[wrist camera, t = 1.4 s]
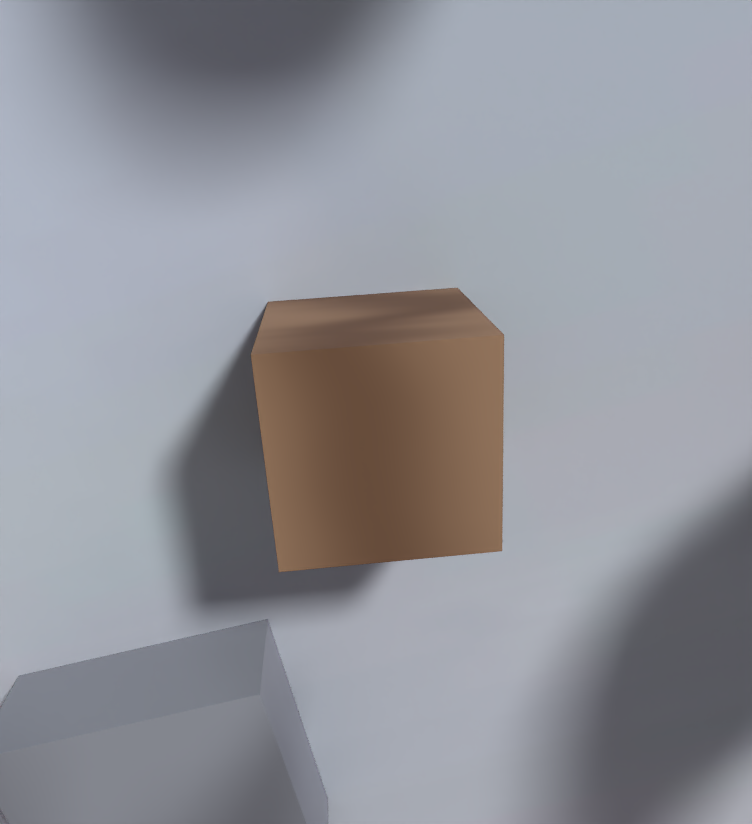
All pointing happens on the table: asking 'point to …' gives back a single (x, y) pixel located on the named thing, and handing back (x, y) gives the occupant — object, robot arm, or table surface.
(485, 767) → the table surface
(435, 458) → the walnut cube
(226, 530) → the table surface
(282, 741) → the slate block
